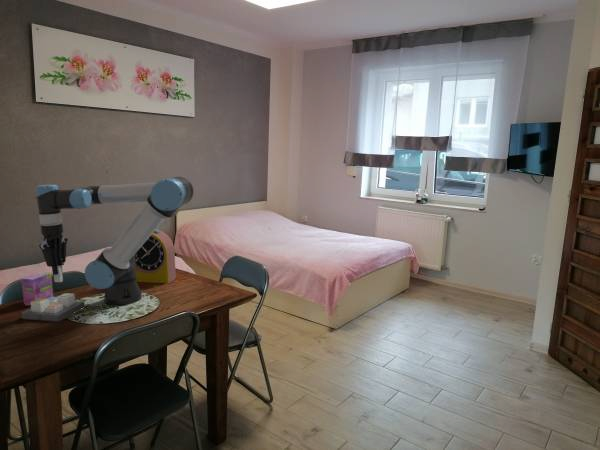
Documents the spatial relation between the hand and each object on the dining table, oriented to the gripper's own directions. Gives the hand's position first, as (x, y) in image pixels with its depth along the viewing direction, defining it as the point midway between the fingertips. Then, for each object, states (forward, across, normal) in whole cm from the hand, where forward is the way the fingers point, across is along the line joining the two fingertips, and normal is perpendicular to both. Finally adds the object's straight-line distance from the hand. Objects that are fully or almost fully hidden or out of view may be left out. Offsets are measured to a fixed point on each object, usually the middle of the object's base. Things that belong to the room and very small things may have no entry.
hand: (58, 281), depth 173 cm
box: (+12, -7, -17) cm, 22 cm away
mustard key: (+10, +7, -4) cm, 12 cm away
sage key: (+10, 0, +2) cm, 10 cm away
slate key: (+11, 0, -4) cm, 12 cm away
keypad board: (+12, +4, -1) cm, 12 cm away
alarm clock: (+13, -45, +15) cm, 49 cm away
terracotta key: (+12, +7, +2) cm, 14 cm away
